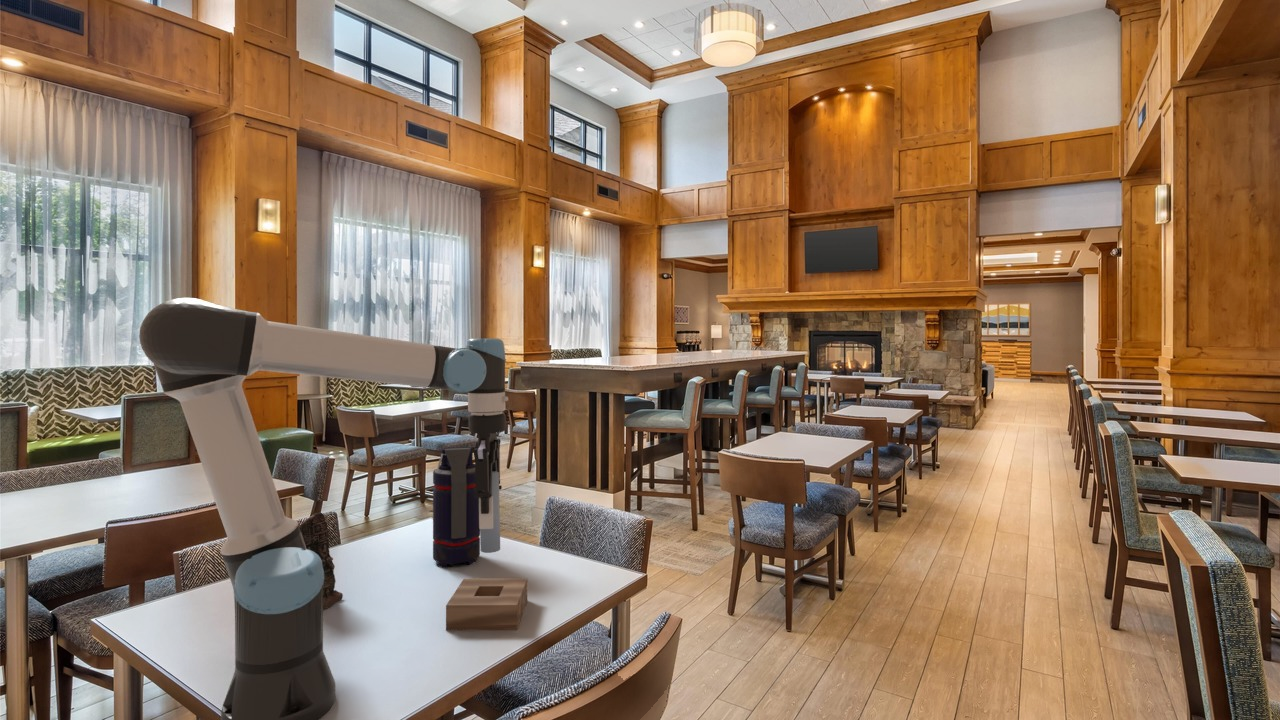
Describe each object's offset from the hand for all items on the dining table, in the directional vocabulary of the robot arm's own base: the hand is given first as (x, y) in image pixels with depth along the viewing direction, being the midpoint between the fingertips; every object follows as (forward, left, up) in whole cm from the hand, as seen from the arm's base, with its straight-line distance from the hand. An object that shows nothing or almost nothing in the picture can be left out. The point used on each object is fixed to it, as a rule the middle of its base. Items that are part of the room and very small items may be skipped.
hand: (489, 524), depth 126 cm
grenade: (+33, +15, -20) cm, 41 cm away
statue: (+7, +38, -20) cm, 43 cm away
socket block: (+1, 0, -19) cm, 19 cm away
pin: (0, 0, -5) cm, 5 cm away
